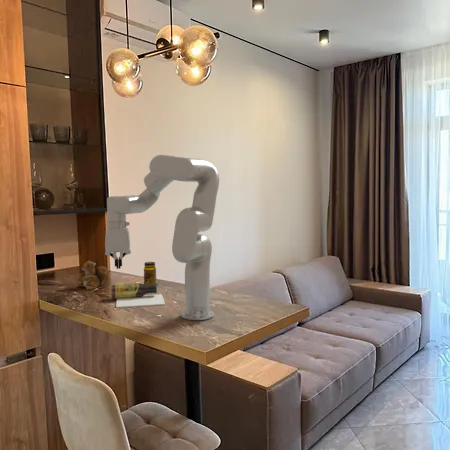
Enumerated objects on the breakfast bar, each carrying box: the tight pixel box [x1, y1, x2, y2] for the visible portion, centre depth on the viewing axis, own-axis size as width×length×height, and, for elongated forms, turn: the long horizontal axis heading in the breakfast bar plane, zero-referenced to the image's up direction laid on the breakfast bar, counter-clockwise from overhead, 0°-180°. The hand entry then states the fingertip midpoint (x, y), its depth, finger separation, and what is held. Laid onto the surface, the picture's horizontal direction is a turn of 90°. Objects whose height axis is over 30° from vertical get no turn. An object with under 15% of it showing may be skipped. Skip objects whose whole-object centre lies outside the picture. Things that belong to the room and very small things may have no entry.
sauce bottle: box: [110, 282, 158, 299], centre depth 190 cm, size 7×6×20 cm
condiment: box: [143, 261, 160, 287], centre depth 213 cm, size 7×8×12 cm
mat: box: [115, 293, 166, 309], centre depth 184 cm, size 16×20×1 cm
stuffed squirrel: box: [77, 260, 110, 290], centre depth 211 cm, size 10×14×13 cm
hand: (118, 268), depth 181 cm, fingers closed
